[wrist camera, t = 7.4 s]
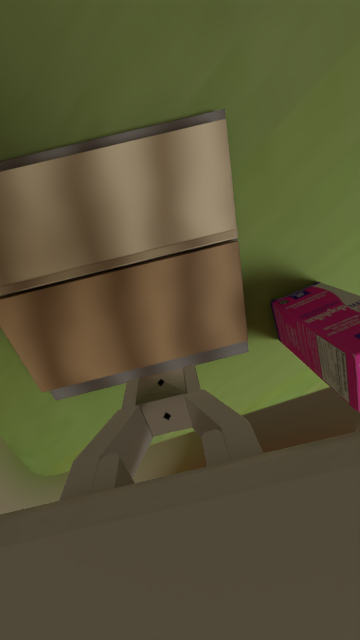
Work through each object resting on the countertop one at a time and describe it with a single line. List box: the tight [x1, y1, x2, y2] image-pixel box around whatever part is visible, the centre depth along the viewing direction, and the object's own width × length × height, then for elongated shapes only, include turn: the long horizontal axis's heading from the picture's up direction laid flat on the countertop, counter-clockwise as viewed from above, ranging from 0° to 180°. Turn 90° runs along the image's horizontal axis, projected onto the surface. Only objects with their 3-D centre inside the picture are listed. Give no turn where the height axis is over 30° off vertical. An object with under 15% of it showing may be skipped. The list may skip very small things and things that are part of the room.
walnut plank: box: [0, 240, 248, 392], centre depth 21 cm, size 22×10×2 cm, turn 103°
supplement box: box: [271, 282, 360, 412], centre depth 20 cm, size 6×6×12 cm
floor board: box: [0, 109, 248, 400], centre depth 20 cm, size 23×22×3 cm
